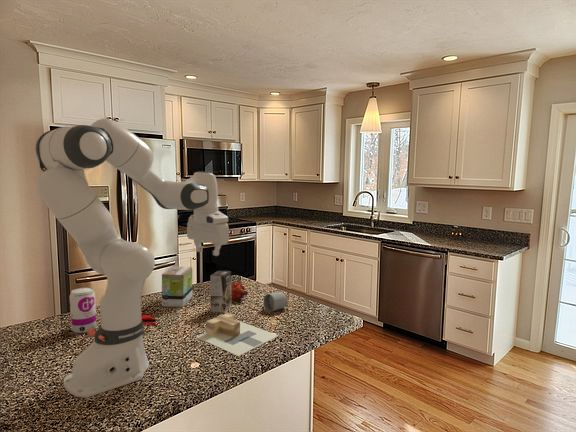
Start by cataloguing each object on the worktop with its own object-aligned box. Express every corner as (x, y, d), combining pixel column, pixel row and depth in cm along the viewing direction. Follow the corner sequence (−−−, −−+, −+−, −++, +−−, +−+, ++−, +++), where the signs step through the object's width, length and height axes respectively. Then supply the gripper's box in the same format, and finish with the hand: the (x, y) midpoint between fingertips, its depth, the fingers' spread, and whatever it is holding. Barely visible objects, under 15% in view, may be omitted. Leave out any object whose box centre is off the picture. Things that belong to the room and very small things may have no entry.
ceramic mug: (288, 309, 163) (288, 292, 162) (274, 314, 157) (274, 296, 156) (273, 303, 170) (272, 287, 170) (258, 307, 165) (258, 290, 164)
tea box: (184, 307, 164) (183, 274, 163) (161, 307, 165) (160, 274, 163) (193, 296, 179) (192, 266, 178) (172, 296, 179) (171, 265, 178)
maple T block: (224, 340, 130) (224, 328, 130) (206, 333, 137) (206, 321, 136) (247, 330, 139) (247, 319, 138) (229, 323, 145) (229, 312, 145)
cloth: (109, 314, 158) (108, 308, 157) (142, 307, 166) (142, 302, 166) (127, 334, 138) (127, 328, 137) (164, 325, 146) (164, 319, 146)
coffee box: (224, 313, 157) (224, 276, 155) (210, 312, 158) (209, 275, 157) (232, 306, 166) (231, 270, 164) (218, 305, 167) (217, 269, 165)
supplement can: (99, 329, 140) (98, 290, 139) (75, 335, 134) (73, 295, 133) (91, 323, 146) (89, 285, 144) (68, 329, 140) (66, 290, 138)
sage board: (238, 357, 120) (238, 355, 120) (195, 338, 133) (195, 336, 133) (279, 336, 135) (279, 335, 135) (236, 321, 149) (236, 320, 149)
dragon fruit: (231, 297, 182) (243, 308, 173) (219, 290, 177) (230, 301, 168) (241, 283, 184) (254, 292, 174) (229, 275, 178) (241, 285, 169)
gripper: (181, 215, 141) (183, 251, 143) (217, 219, 128) (219, 259, 130) (195, 213, 146) (197, 248, 147) (231, 217, 133) (232, 255, 135)
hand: (207, 253), depth 138 cm, fingers open, 8 cm apart
